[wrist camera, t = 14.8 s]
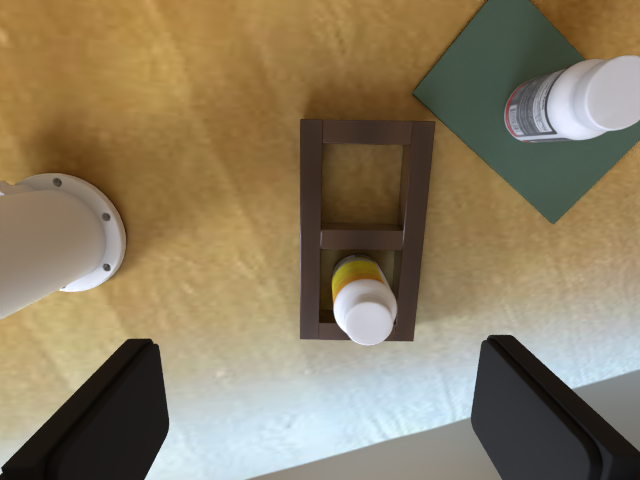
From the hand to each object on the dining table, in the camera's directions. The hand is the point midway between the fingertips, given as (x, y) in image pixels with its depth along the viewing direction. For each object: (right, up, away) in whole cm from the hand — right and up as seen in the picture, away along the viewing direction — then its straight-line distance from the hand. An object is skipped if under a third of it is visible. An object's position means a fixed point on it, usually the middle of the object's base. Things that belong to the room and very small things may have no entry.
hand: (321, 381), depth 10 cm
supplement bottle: (+4, 0, +27) cm, 27 cm away
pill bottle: (+20, +16, +22) cm, 34 cm away
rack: (+4, +5, +26) cm, 26 cm away
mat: (+20, +16, +22) cm, 34 cm away
